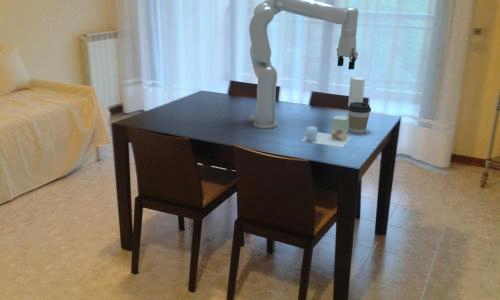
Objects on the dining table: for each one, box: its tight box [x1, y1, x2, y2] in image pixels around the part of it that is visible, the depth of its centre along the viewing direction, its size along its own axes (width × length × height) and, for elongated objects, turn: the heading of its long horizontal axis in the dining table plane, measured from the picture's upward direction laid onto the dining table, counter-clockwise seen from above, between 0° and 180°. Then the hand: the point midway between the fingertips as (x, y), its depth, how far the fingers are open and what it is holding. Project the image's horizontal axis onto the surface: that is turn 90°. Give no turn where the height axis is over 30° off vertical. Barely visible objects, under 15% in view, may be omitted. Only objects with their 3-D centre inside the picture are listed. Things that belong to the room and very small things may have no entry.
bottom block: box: [331, 127, 349, 141], centre depth 228 cm, size 6×6×5 cm
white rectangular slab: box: [300, 131, 352, 148], centre depth 227 cm, size 20×16×2 cm
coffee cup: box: [347, 102, 372, 134], centre depth 237 cm, size 11×11×15 cm
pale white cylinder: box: [305, 125, 318, 143], centre depth 224 cm, size 5×5×6 cm
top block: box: [331, 115, 349, 131], centre depth 226 cm, size 6×6×5 cm
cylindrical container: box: [346, 76, 366, 128], centre depth 248 cm, size 7×7×25 cm
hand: (345, 67), depth 247 cm, fingers open, 9 cm apart
